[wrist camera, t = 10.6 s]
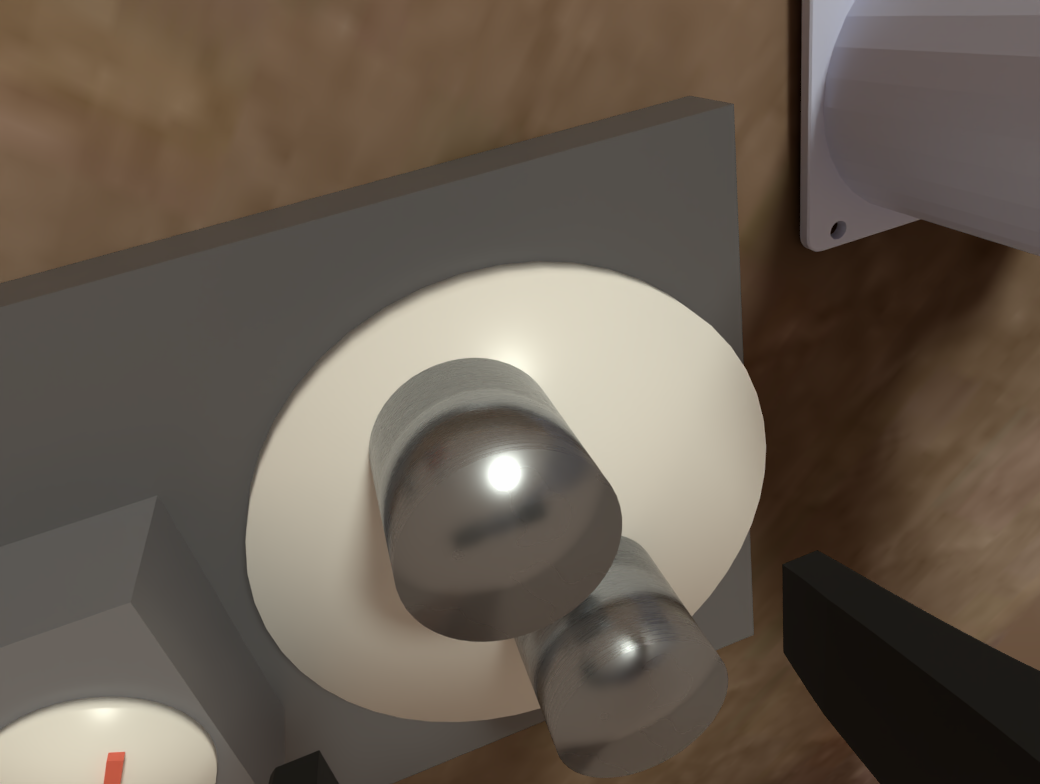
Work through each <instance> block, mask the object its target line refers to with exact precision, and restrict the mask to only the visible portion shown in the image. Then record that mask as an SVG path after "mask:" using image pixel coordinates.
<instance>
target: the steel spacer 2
mask: <svg viewBox="0 0 1040 784" xmlns="http://www.w3.org/2000/svg"><path fill="white" fill-rule="evenodd" d="M514 640H515V642H516V645H517V648H518V650H519V653H520V656H521V658H522V661H523V663H524V666H525V669H526V671H527V674H528V676H529V679H530V682H531V684H532V687H533V690H534V692H535V695H536V697H537V700H538V703H539V705H540V708H541V711H542V713H543V716H544V718H545V721H546V724H547V726H548V729H549V731H550V734H551V737H552V739H553V742H554V745H555V747H556V750H557V752H558V755H559V757H560V758H561V760H562V761H563V763H564V764H565V765H567V766H568V767H569V768H570V769H572V770H573V771H575V772H577V773H580V774H582V775H586V776H590V777H598V778H612V777H620V776H625V775H630V774H634V773H637V772H641V771H644V770H646V769H649V768H651V767H654V766H656V765H658V764H660V763H662V762H664V761H666V760H668V759H669V758H671V757H673V756H674V755H676V754H677V753H679V752H680V751H682V750H683V749H685V748H686V747H687V746H688V745H690V744H691V743H692V742H693V741H694V740H696V739H697V738H698V737H699V736H700V735H701V734H702V733H703V732H704V731H705V730H706V728H707V727H708V726H709V725H710V724H711V722H712V721H713V720H714V718H715V717H716V715H717V713H718V712H719V710H720V708H721V706H722V704H723V702H724V699H725V696H726V693H727V687H728V674H727V670H726V667H725V664H724V663H723V661H722V660H721V658H720V657H719V655H718V654H717V652H716V651H715V649H714V648H713V647H712V645H711V644H710V642H709V641H708V639H707V638H706V636H705V635H704V634H703V632H702V631H701V629H700V628H699V626H698V625H697V623H696V622H695V621H694V619H693V618H692V616H691V615H690V613H689V612H688V610H687V609H686V608H685V606H684V605H683V603H682V602H681V600H680V599H679V597H678V596H677V595H676V593H675V592H674V590H673V589H672V587H671V586H670V584H669V583H668V582H667V580H666V579H665V577H664V576H663V574H662V573H661V572H660V570H659V569H658V567H657V566H656V564H655V563H654V561H653V560H652V559H651V557H650V556H649V554H648V553H647V551H646V550H645V549H644V548H643V547H642V546H641V545H640V544H638V543H637V542H635V541H634V540H632V539H629V538H627V537H624V536H621V540H620V545H619V548H618V551H617V554H616V556H615V559H614V561H613V563H612V565H611V567H610V569H609V571H608V572H607V574H606V576H605V577H604V578H603V580H602V581H601V582H600V584H599V585H598V586H597V588H596V589H595V590H594V591H593V592H592V593H591V594H590V595H589V596H588V597H587V598H586V599H585V600H584V601H583V602H582V603H581V604H580V605H579V606H577V607H576V608H575V609H573V610H572V611H571V612H569V613H568V614H567V615H565V616H564V617H562V618H560V619H559V620H557V621H555V622H554V623H552V624H550V625H548V626H546V627H544V628H542V629H539V630H537V631H534V632H531V633H529V634H526V635H523V636H519V637H515V638H514Z"/></svg>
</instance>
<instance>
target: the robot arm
mask: <svg viewBox="0 0 1040 784" xmlns="http://www.w3.org/2000/svg"><path fill="white" fill-rule="evenodd" d="M920 219H922V220H925V221H928V222H931V223H935V224H938V225H941V226H944V227H947V228H951V229H954V230H957V231H960V232H964V233H967V234H970V235H973V236H976V237H980V238H983V239H986V240H989V241H992V242H996V243H999V244H1002V245H1005V246H1009V247H1012V248H1015V249H1018V250H1021V251H1025V252H1028V253H1031V254H1034V255H1037V256H1040V0H802V59H801V179H800V239H801V243H802V244H803V246H804V247H806V248H808V249H810V250H813V251H815V252H819V251H824V250H827V249H830V248H833V247H836V246H839V245H842V244H846V243H849V242H852V241H855V240H858V239H861V238H864V237H867V236H870V235H874V234H877V233H880V232H883V231H886V230H889V229H892V228H895V227H899V226H902V225H905V224H908V223H911V222H914V221H917V220H920ZM836 222H837V228H836V230H835V231H834V233H832V234H830V232H831V228H832V227H833V225H834V224H835V223H836ZM782 568H783V647H784V654H785V655H786V657H787V658H788V660H789V662H790V663H791V665H792V666H793V668H794V670H795V671H796V673H797V674H798V676H799V677H800V679H801V681H802V682H803V684H804V685H805V687H806V688H807V690H808V691H809V693H810V694H811V696H812V697H813V699H814V700H815V702H816V703H817V705H818V706H819V708H820V709H821V711H822V712H823V714H824V715H825V716H826V717H827V719H828V720H829V721H830V722H831V724H832V725H833V726H834V727H835V729H836V730H837V731H838V732H839V734H840V735H841V736H842V737H843V739H844V740H845V741H846V742H847V744H848V745H849V746H850V747H851V748H852V750H853V751H854V752H855V753H856V755H857V756H858V757H859V758H860V760H861V761H862V762H863V763H864V764H865V766H866V767H867V768H868V769H869V771H870V772H871V773H872V774H873V775H874V777H875V778H876V779H877V780H878V781H879V783H880V784H1040V671H1039V670H1037V669H1034V668H1032V667H1030V666H1028V665H1026V664H1024V663H1022V662H1020V661H1018V660H1016V659H1014V658H1012V657H1010V656H1008V655H1006V654H1004V653H1002V652H1000V651H998V650H996V649H994V648H992V647H991V646H989V645H987V644H985V643H983V642H981V641H979V640H977V639H975V638H974V637H972V636H970V635H968V634H966V633H964V632H962V631H960V630H959V629H957V628H955V627H953V626H951V625H949V624H947V623H945V622H943V621H942V620H940V619H938V618H936V617H934V616H932V615H931V614H929V613H927V612H925V611H923V610H922V609H920V608H918V607H916V606H914V605H913V604H911V603H909V602H907V601H906V600H904V599H902V598H900V597H898V596H897V595H895V594H893V593H891V592H890V591H888V590H886V589H884V588H883V587H881V586H879V585H877V584H876V583H874V582H872V581H870V580H869V579H867V578H865V577H863V576H862V575H860V574H858V573H856V572H855V571H853V570H851V569H850V568H848V567H846V566H844V565H843V564H841V563H839V562H837V561H836V560H834V559H832V558H830V557H828V556H827V555H825V554H823V553H821V552H819V551H818V550H817V551H815V552H812V553H810V554H807V555H805V556H802V557H800V558H797V559H795V560H792V561H790V562H787V563H785V564H782ZM269 784H339V783H338V781H337V779H336V778H335V776H334V774H333V772H332V771H331V769H330V767H329V766H328V764H327V762H326V761H325V759H324V757H323V755H322V754H321V752H320V750H318V751H316V752H313V753H311V754H308V755H306V756H303V757H301V758H298V759H296V760H293V761H291V762H288V763H286V764H283V765H281V766H278V767H276V768H275V769H274V771H273V772H272V774H271V776H270V779H269Z"/></svg>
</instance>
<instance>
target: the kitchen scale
mask: <svg viewBox="0 0 1040 784" xmlns="http://www.w3.org/2000/svg"><path fill="white" fill-rule="evenodd" d="M462 358H487V359H493V360H498V361H501V362H504V363H508V364H510V365H512V366H514V367H517V368H519V369H521V370H522V371H523V372H525V373H526V374H528V375H529V376H530V377H531V378H533V379H534V380H535V381H536V382H537V383H538V385H539V386H540V387H541V388H542V390H543V391H544V392H545V394H546V395H547V396H548V398H549V399H550V401H551V402H552V403H553V405H554V406H555V408H556V409H557V410H558V412H559V413H560V415H561V416H562V417H563V419H564V420H565V422H566V423H567V424H568V426H569V427H570V429H571V430H572V431H573V433H574V434H575V436H576V437H577V438H578V440H579V441H580V443H581V444H582V445H583V447H584V448H585V450H586V451H587V452H588V454H589V455H590V457H591V458H592V459H593V461H594V462H595V464H596V465H597V466H598V468H599V469H600V471H601V472H602V473H603V475H604V476H605V478H606V479H607V480H608V482H609V483H610V485H611V486H612V488H613V490H614V492H615V494H616V495H617V498H618V501H619V504H620V507H621V514H622V534H621V536H624V537H627V538H629V539H632V540H634V541H635V542H637V543H638V544H640V545H641V546H642V547H643V548H644V549H645V550H646V551H647V553H648V554H649V556H650V557H651V559H652V560H653V561H654V563H655V564H656V566H657V567H658V569H659V570H660V572H661V573H662V574H663V576H664V577H665V579H666V580H667V582H668V583H669V584H670V586H671V587H672V589H673V590H674V592H675V593H676V595H677V596H678V597H679V599H680V600H681V602H682V603H683V605H684V606H685V608H686V609H687V610H688V612H689V613H690V615H691V616H692V618H693V619H694V621H695V622H696V623H697V625H698V626H699V628H700V629H701V631H702V632H703V634H704V635H705V636H706V638H707V639H708V641H709V642H710V644H711V645H712V647H713V648H714V649H715V650H718V649H720V648H723V647H725V646H727V645H730V644H732V643H735V642H737V641H740V640H742V639H744V638H747V637H749V636H752V635H754V626H753V600H752V574H751V547H750V527H751V525H752V522H753V519H754V515H755V512H756V509H757V506H758V503H759V500H760V495H761V490H762V485H763V479H764V474H765V458H766V439H765V429H764V419H763V415H762V411H761V407H760V404H759V400H758V396H757V393H756V390H755V388H754V386H753V384H752V381H751V379H750V377H749V375H748V372H747V370H746V368H745V367H744V362H743V336H742V309H741V283H740V257H739V230H738V204H737V177H736V151H735V124H734V104H731V103H726V102H720V101H715V100H710V99H704V98H699V97H694V96H688V97H684V98H680V99H677V100H673V101H669V102H666V103H662V104H658V105H655V106H651V107H647V108H643V109H640V110H636V111H632V112H629V113H625V114H621V115H618V116H614V117H610V118H607V119H603V120H599V121H596V122H592V123H588V124H585V125H581V126H577V127H574V128H570V129H566V130H563V131H559V132H555V133H552V134H548V135H544V136H541V137H537V138H533V139H530V140H526V141H522V142H519V143H515V144H511V145H508V146H504V147H500V148H497V149H493V150H489V151H486V152H482V153H478V154H474V155H471V156H467V157H463V158H460V159H456V160H452V161H449V162H445V163H441V164H438V165H434V166H430V167H427V168H423V169H419V170H416V171H412V172H408V173H405V174H401V175H397V176H394V177H390V178H386V179H383V180H379V181H375V182H372V183H368V184H364V185H361V186H357V187H353V188H350V189H346V190H342V191H339V192H335V193H331V194H328V195H324V196H320V197H317V198H313V199H309V200H305V201H302V202H298V203H294V204H291V205H287V206H283V207H280V208H276V209H272V210H269V211H265V212H261V213H258V214H254V215H250V216H247V217H243V218H239V219H236V220H232V221H228V222H225V223H221V224H217V225H214V226H210V227H206V228H203V229H199V230H195V231H192V232H188V233H184V234H181V235H177V236H173V237H170V238H166V239H162V240H159V241H155V242H151V243H148V244H144V245H140V246H136V247H133V248H129V249H125V250H122V251H118V252H114V253H111V254H107V255H103V256H100V257H96V258H92V259H89V260H85V261H81V262H78V263H74V264H70V265H67V266H63V267H59V268H56V269H52V270H48V271H45V272H41V273H37V274H34V275H30V276H26V277H23V278H19V279H15V280H12V281H8V282H4V283H1V284H0V784H269V779H270V776H271V774H272V772H273V771H274V769H275V768H276V767H278V766H281V765H283V764H286V763H288V762H291V761H293V760H296V759H298V758H301V757H303V756H306V755H308V754H311V753H313V752H316V751H318V750H320V752H321V754H322V755H323V757H324V759H325V761H326V762H327V764H328V766H329V767H330V769H331V771H332V772H333V774H334V776H335V778H336V779H337V781H338V783H339V784H392V783H395V782H397V781H400V780H402V779H405V778H407V777H409V776H412V775H414V774H417V773H419V772H422V771H424V770H426V769H429V768H431V767H434V766H436V765H439V764H441V763H443V762H446V761H448V760H451V759H453V758H456V757H458V756H460V755H463V754H465V753H468V752H470V751H473V750H475V749H477V748H480V747H482V746H485V745H487V744H490V743H492V742H494V741H497V740H499V739H502V738H504V737H507V736H509V735H511V734H514V733H516V732H519V731H521V730H524V729H526V728H528V727H531V726H533V725H536V724H538V723H541V722H543V721H545V718H544V716H543V713H542V711H541V708H540V705H539V703H538V700H537V697H536V695H535V692H534V690H533V687H532V684H531V682H530V679H529V676H528V674H527V671H526V669H525V666H524V663H523V661H522V658H521V656H520V653H519V650H518V648H517V645H516V642H515V640H514V638H511V639H506V640H500V641H490V642H471V641H463V640H457V639H453V638H449V637H446V636H443V635H441V634H438V633H436V632H434V631H432V630H430V629H428V628H427V627H425V626H423V625H422V624H421V623H420V622H418V621H417V620H416V619H415V618H414V617H413V616H412V615H411V614H410V613H409V612H408V611H407V609H406V608H405V606H404V605H403V603H402V601H401V600H400V597H399V595H398V592H397V590H396V586H395V581H394V577H393V572H392V567H391V562H390V557H389V553H388V548H387V543H386V538H385V534H384V529H383V524H382V519H381V514H380V510H379V505H378V500H377V495H376V490H375V486H374V481H373V476H372V471H371V466H370V461H369V442H370V436H371V432H372V428H373V425H374V423H375V421H376V418H377V416H378V414H379V412H380V411H381V409H382V407H383V406H384V404H385V403H386V402H387V400H388V399H389V398H390V397H391V395H392V394H393V393H394V392H395V391H396V390H397V389H398V388H399V387H400V386H401V385H403V384H404V383H405V382H407V381H408V380H409V379H410V378H412V377H413V376H415V375H417V374H418V373H420V372H422V371H423V370H426V369H428V368H430V367H432V366H435V365H437V364H440V363H444V362H447V361H451V360H456V359H462Z"/></svg>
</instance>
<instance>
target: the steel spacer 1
mask: <svg viewBox="0 0 1040 784" xmlns="http://www.w3.org/2000/svg"><path fill="white" fill-rule="evenodd" d="M369 461H370V466H371V471H372V476H373V481H374V486H375V490H376V495H377V500H378V505H379V510H380V514H381V519H382V524H383V529H384V534H385V538H386V543H387V548H388V553H389V557H390V562H391V567H392V572H393V577H394V581H395V586H396V590H397V592H398V595H399V597H400V600H401V601H402V603H403V605H404V606H405V608H406V609H407V611H408V612H409V613H410V614H411V615H412V616H413V617H414V618H415V619H416V620H417V621H418V622H420V623H421V624H422V625H423V626H425V627H427V628H428V629H430V630H432V631H434V632H436V633H438V634H441V635H443V636H446V637H449V638H453V639H457V640H463V641H471V642H490V641H500V640H506V639H511V638H515V637H519V636H523V635H526V634H529V633H531V632H534V631H537V630H539V629H542V628H544V627H546V626H548V625H550V624H552V623H554V622H555V621H557V620H559V619H560V618H562V617H564V616H565V615H567V614H568V613H569V612H571V611H572V610H573V609H575V608H576V607H577V606H579V605H580V604H581V603H582V602H583V601H584V600H585V599H586V598H587V597H588V596H589V595H590V594H591V593H592V592H593V591H594V590H595V589H596V588H597V586H598V585H599V584H600V582H601V581H602V580H603V578H604V577H605V576H606V574H607V572H608V571H609V569H610V567H611V565H612V563H613V561H614V559H615V556H616V554H617V551H618V548H619V545H620V540H621V534H622V514H621V507H620V504H619V501H618V498H617V495H616V494H615V492H614V490H613V488H612V486H611V485H610V483H609V482H608V480H607V479H606V478H605V476H604V475H603V473H602V472H601V471H600V469H599V468H598V466H597V465H596V464H595V462H594V461H593V459H592V458H591V457H590V455H589V454H588V452H587V451H586V450H585V448H584V447H583V445H582V444H581V443H580V441H579V440H578V438H577V437H576V436H575V434H574V433H573V431H572V430H571V429H570V427H569V426H568V424H567V423H566V422H565V420H564V419H563V417H562V416H561V415H560V413H559V412H558V410H557V409H556V408H555V406H554V405H553V403H552V402H551V401H550V399H549V398H548V396H547V395H546V394H545V392H544V391H543V390H542V388H541V387H540V386H539V385H538V383H537V382H536V381H535V380H534V379H533V378H531V377H530V376H529V375H528V374H526V373H525V372H523V371H522V370H521V369H519V368H517V367H514V366H512V365H510V364H508V363H504V362H501V361H498V360H493V359H487V358H462V359H456V360H451V361H447V362H444V363H440V364H437V365H435V366H432V367H430V368H428V369H426V370H423V371H422V372H420V373H418V374H417V375H415V376H413V377H412V378H410V379H409V380H408V381H407V382H405V383H404V384H403V385H401V386H400V387H399V388H398V389H397V390H396V391H395V392H394V393H393V394H392V395H391V397H390V398H389V399H388V400H387V402H386V403H385V404H384V406H383V407H382V409H381V411H380V412H379V414H378V416H377V418H376V421H375V423H374V425H373V428H372V432H371V436H370V442H369Z"/></svg>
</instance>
